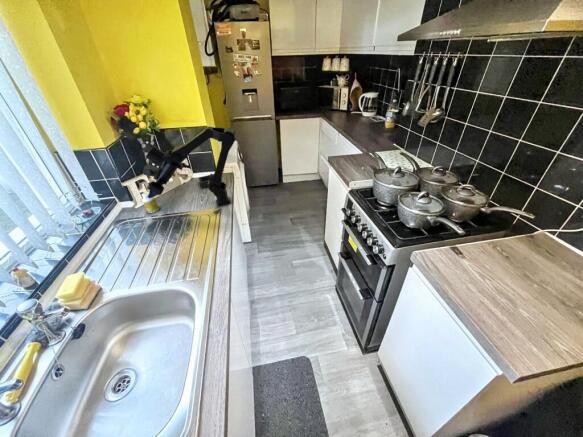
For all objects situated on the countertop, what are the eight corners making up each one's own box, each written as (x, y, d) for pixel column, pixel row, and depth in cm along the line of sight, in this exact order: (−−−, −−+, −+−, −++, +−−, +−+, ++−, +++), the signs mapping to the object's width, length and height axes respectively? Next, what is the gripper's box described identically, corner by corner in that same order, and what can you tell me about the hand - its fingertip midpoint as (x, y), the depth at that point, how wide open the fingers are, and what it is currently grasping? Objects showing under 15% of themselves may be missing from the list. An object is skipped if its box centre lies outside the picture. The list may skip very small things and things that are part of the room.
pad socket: (216, 184, 147) (214, 179, 145) (202, 188, 144) (201, 182, 142) (213, 179, 153) (212, 174, 150) (200, 182, 150) (198, 177, 148)
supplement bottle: (153, 213, 124) (145, 197, 118) (145, 211, 125) (137, 195, 120) (161, 208, 128) (154, 192, 122) (153, 206, 130) (146, 190, 124)
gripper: (156, 152, 119) (141, 175, 125) (143, 168, 104) (127, 193, 110) (178, 166, 125) (163, 187, 130) (169, 183, 110) (152, 206, 115)
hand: (151, 192), depth 121 cm, fingers open, 9 cm apart
